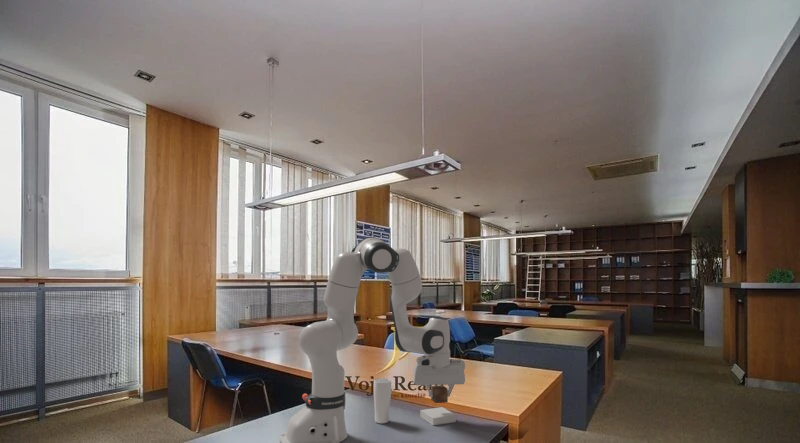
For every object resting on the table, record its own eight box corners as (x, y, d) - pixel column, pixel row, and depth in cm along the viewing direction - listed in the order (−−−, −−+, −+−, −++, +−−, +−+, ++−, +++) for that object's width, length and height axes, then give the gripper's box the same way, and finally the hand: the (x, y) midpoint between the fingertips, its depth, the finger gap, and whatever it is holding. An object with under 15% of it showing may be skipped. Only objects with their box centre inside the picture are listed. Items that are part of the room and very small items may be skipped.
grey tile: (433, 425, 154) (433, 418, 155) (420, 416, 163) (420, 410, 164) (455, 421, 158) (455, 414, 159) (442, 413, 167) (442, 407, 168)
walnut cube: (435, 403, 158) (435, 389, 159) (431, 399, 163) (431, 386, 163) (447, 402, 159) (447, 388, 160) (443, 398, 164) (443, 385, 165)
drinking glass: (388, 425, 153) (389, 383, 155) (370, 423, 155) (371, 382, 157) (392, 419, 160) (393, 378, 162) (375, 417, 161) (376, 377, 163)
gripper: (462, 357, 167) (463, 393, 166) (412, 358, 165) (412, 394, 163) (466, 360, 161) (467, 398, 159) (414, 361, 159) (414, 399, 157)
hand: (439, 396), depth 161 cm, fingers closed on walnut cube, 5 cm apart
